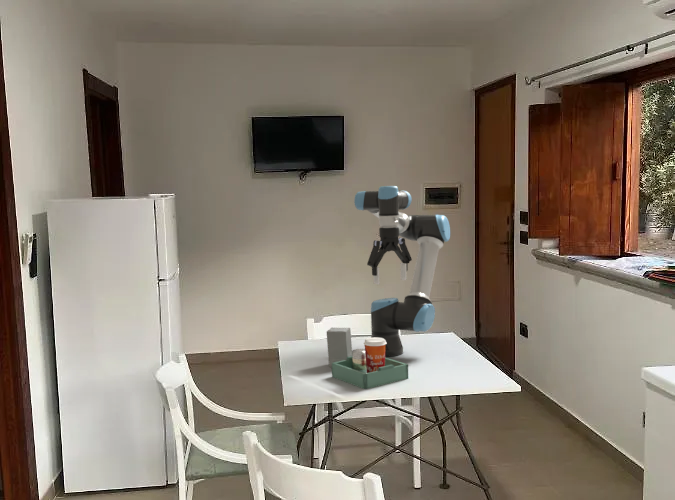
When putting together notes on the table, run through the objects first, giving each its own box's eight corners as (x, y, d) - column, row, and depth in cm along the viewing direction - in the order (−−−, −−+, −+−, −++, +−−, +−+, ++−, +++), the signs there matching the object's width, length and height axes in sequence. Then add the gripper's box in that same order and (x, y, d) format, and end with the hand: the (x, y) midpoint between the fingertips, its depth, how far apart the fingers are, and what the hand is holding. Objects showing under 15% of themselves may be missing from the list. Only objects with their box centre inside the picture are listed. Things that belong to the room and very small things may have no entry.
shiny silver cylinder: (349, 374, 246) (348, 350, 246) (362, 371, 250) (361, 348, 249) (359, 377, 242) (358, 353, 241) (372, 374, 245) (371, 350, 244)
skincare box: (353, 366, 260) (352, 327, 259) (347, 371, 253) (346, 330, 252) (333, 365, 263) (332, 326, 261) (327, 369, 256) (326, 329, 255)
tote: (332, 378, 244) (331, 360, 243) (373, 369, 255) (373, 351, 255) (365, 391, 227) (365, 371, 227) (408, 380, 239) (408, 361, 238)
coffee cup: (366, 384, 233) (365, 342, 232) (363, 377, 242) (362, 337, 240) (389, 382, 234) (388, 341, 233) (385, 376, 242) (384, 336, 241)
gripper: (369, 229, 238) (371, 286, 240) (420, 224, 253) (421, 279, 255) (357, 228, 244) (358, 284, 246) (407, 224, 259) (408, 277, 261)
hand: (390, 282), depth 251 cm, fingers open, 13 cm apart
